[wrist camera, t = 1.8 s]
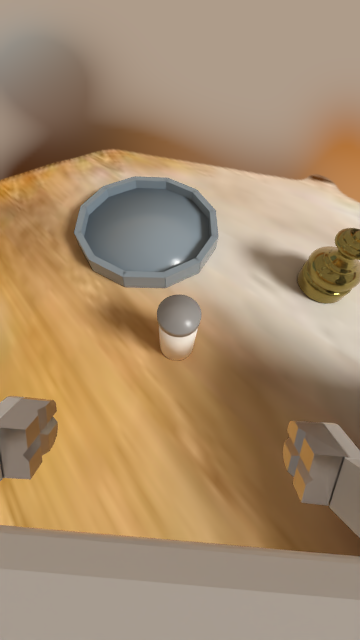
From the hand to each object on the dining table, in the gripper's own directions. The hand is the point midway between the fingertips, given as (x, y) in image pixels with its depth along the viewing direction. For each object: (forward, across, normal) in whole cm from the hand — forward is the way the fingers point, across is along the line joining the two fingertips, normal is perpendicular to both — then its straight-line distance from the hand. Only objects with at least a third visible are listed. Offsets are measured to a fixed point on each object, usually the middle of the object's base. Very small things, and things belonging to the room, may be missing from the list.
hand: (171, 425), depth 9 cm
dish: (+39, +6, -7) cm, 40 cm away
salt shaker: (+34, -21, -1) cm, 40 cm away
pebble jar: (+25, 0, +7) cm, 26 cm away
